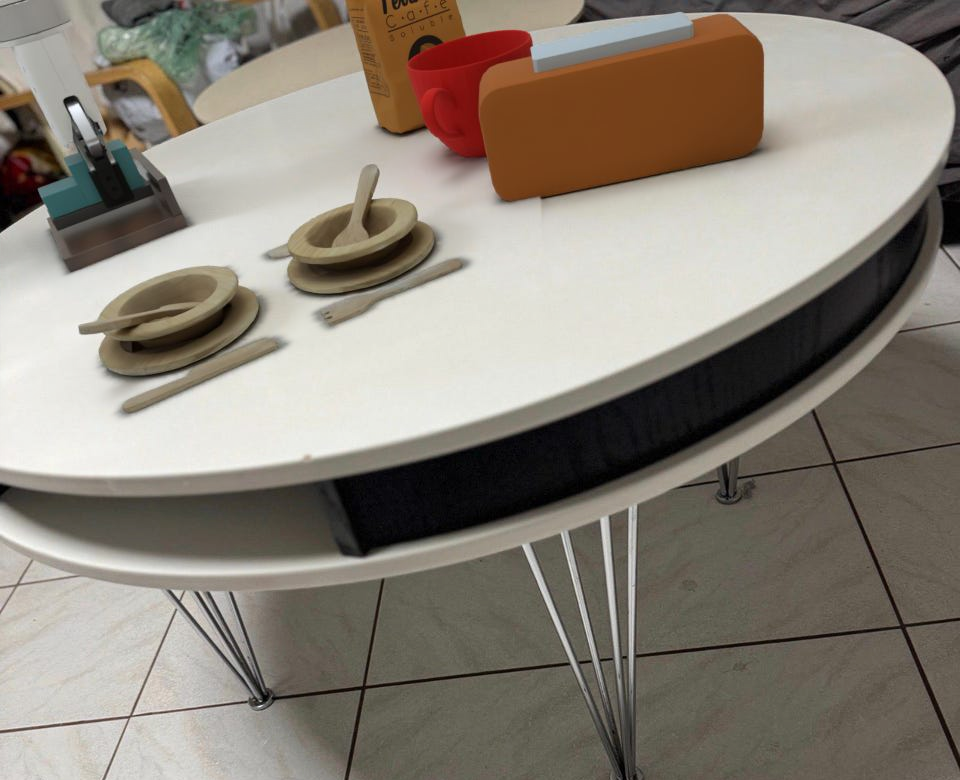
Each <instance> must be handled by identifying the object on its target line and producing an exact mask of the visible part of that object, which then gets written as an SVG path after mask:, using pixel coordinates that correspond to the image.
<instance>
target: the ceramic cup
mask: <svg viewBox="0 0 960 780" xmlns="http://www.w3.org/2000/svg"><path fill="white" fill-rule="evenodd" d="M533 45H534V41H533V38H532V35H531V33H530V32H528V31H527V30H521V29H501V30H500V29H499V30H491V31H485V32H480V33H476V34H475V33H474V34H470V35H466V37H462V38H458V39H455V40H451V41H448V42H445V43H442V44H439V45H437V46H434V47H432V48H429V49H427V50H425V51H423V52H421V53H419V54H417V55H416V56H414V57H413V58H412V59H410V60H409V62H408V63H407V71H408V74H409V78H410V81H411V84H412V88H413V91H414V94H415V97H416V99H417V102H418V105H419V107H420V110H421V112H422V116H423V120H424V122H425V125H426V126H425V127H426V128H427V130H428V131H429V133H431V134H432V136H433V137H436V138H437V139H438V140H439V141H440V143H442V144H443V145H444V146H446V147H447V148H448V149H449V150H450V151H452V152H453V153H455V154H456V155H458V156H459V157H462V158H471V159H473V158H474V159H475V158H483V157H487V155H486V150H485V145H484V140H483V135H482V130H481V125H480V120H479V88H480V81H481V79H482V76H483V74H484V73H485V72H486V71H487V70H488V69H489V68H490V67H492V66H494V65H496V64H500V63H504V62H508V61H513V60H517V59H522V58H526V57H530V56H532V54H531V47H532V46H533Z"/></svg>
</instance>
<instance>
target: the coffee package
mask: <svg viewBox="0 0 960 780" xmlns="http://www.w3.org/2000/svg"><path fill="white" fill-rule="evenodd" d="M345 5H346V10H347V13H348V18H349V22H350V25H351V28H352V31H353V34H354V38H355V42H356V46H357V50H358V53H359V57H360V61H361V66H362V69H363V72H364V78H365V81H366V85H367V89H368V92H369V96H370V100H371V104H372V107H373V110H374V113H375V117H376V120H377V124H378V126H379V127H380V128H382V129H383V128H385V129H386V130H387V131H389V132H391V133H398V134H403V133H407V132H412V131H415V130H418V129H421V128H424V127H426V125H425V122H424V120H423V116H422V112H421V110H420V107H419V105H418V102H417V99H416V97H415V94H414V91H413V88H412V84H411V81H410V78H409V74H408V71H407V63H408V62H409V60H410V59H412V58H413V57H414V56H416V55H417V54H419V53H421V52H423V51H425V50H427V49H429V48H432V47H434V46H437V45H439V44H442V43H445V42H448V41H451V40H455V39H458V38H462V37H466V36H467V33H466V31H465V28H464V24H463V18H462V15H461V13H460V10H459V6H458V3H457V0H345Z"/></svg>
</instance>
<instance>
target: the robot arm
mask: <svg viewBox="0 0 960 780" xmlns="http://www.w3.org/2000/svg"><path fill="white" fill-rule="evenodd" d="M72 27H74V23H73V21H72V19H71V17H70V15H69V13H68V10H67V8H66V6H65V5H64V2H63V0H0V49H8V48H10V49H11V51H12V53H13V56H14V58H15V60H16V62H17V65H18V67H19V69H20V72H21V74H22V76H23V77H24V79H25V81H26V83H27V85H28V87H29V89H30V91H31V93H32V95H33V97H34V98H35V101H36V102H37V104H38V106H39V109H40V110H41V112H42V115H43V116H44V118H45V120H46V122H47V123H48V125H49V127H50V129H51V131H52V133H53V134H54V136H55V138H56V140H57V141H58V143H59V145H60V146H61V147H63V148H65V149H69V148H70V144H69V143H73V145H74V146H75V148H76V150H77V153H78V152H81V154H82V156H83V158H84V160H85V162H86V164H87V165H88V167H89V169H90V171H91V172H88V173H89V175H90V177H91V179H92V181H93V183H94V185H95V187H96V189H97V190H98V192H99V194H100V196H101V198H102V200H103V202H104V204H105V206H106V207H107V208H112V207H115V206H118V205H120V204H123V203H126V202H128V201H131V200H133V199H134V194H133V192H132V190H131V188H130V186H129V184H128V182H127V180H126V178H125V176H124V174H123V172H122V170H121V168H120V166H119V164H118V162H115V160H114V158H113V156H112V154H111V152H110V150H109V148H108V146H107V144H106V143H107V142H106V140H105V138H104V136H105V135H106V133H107V131H108V130H107V127H106V124H105V122H104V119H103V116H102V114H101V111H100V109H99V106H98V104H97V101H96V100H95V97H94V94H93V92H92V89H91V88H90V86H89V83H88V81H87V79H86V76H85V74H84V72H83V69H82V67H81V66H80V64H79V62H78V60H77V57H76V56H75V53H74V51H73V49H72V46H71V45H70V43H69V41H68V39H67V37H66V35H65V32H64V31H67V30H68V29H71V28H72ZM86 151H87V152H86ZM90 159H91V160H90ZM91 161H92V162H91Z"/></svg>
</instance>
